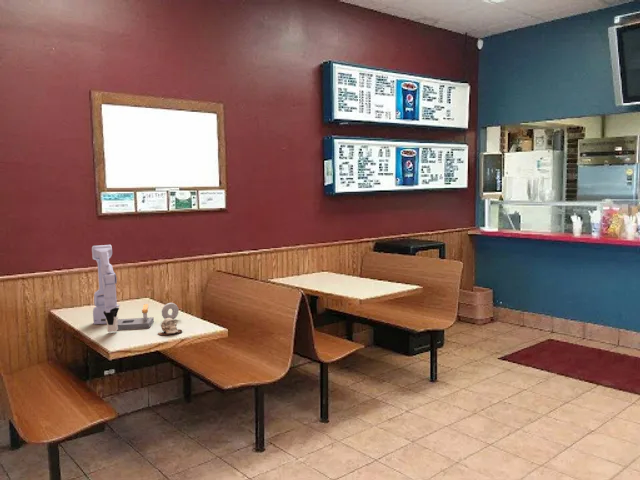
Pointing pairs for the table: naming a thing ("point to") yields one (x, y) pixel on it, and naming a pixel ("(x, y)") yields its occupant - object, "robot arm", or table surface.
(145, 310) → the orange paddle handle
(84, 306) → the table surface
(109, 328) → the plug
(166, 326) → the skull
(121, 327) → the socket block
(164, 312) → the donut
